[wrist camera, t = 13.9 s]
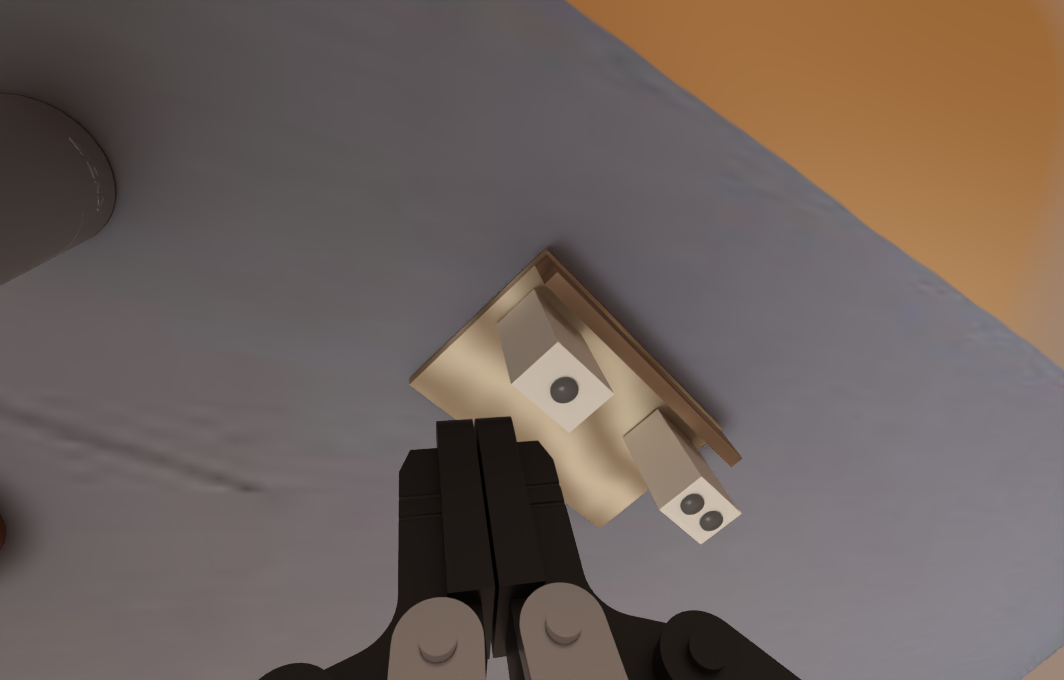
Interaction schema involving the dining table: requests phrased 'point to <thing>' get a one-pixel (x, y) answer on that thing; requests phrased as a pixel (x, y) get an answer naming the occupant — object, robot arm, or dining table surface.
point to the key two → (680, 478)
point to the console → (596, 443)
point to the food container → (2, 532)
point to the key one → (551, 362)
